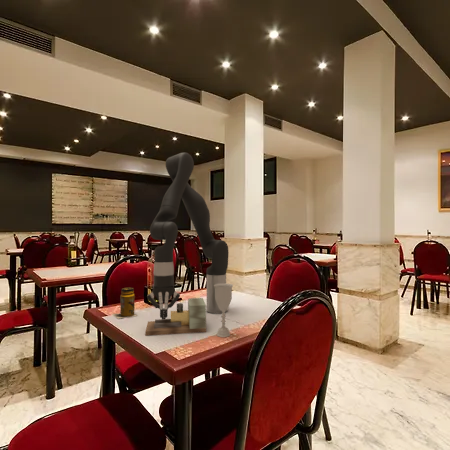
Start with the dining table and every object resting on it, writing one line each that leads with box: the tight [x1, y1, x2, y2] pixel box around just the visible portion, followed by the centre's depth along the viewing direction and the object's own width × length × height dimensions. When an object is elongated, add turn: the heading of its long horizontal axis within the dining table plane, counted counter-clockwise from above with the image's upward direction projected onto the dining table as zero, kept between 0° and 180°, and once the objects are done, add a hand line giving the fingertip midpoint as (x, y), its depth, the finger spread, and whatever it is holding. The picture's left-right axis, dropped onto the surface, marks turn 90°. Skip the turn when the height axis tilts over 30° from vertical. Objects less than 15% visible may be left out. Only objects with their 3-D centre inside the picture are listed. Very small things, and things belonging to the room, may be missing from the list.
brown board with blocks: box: [144, 297, 207, 337], centre depth 119 cm, size 22×12×10 cm, turn 100°
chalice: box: [214, 283, 234, 338], centre depth 112 cm, size 7×7×18 cm
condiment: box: [113, 287, 138, 320], centre depth 137 cm, size 7×8×12 cm
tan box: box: [170, 302, 189, 325], centre depth 119 cm, size 10×3×8 cm, turn 100°
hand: (163, 318), depth 118 cm, fingers closed
